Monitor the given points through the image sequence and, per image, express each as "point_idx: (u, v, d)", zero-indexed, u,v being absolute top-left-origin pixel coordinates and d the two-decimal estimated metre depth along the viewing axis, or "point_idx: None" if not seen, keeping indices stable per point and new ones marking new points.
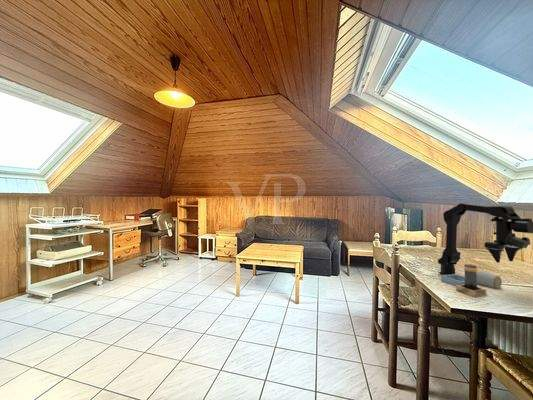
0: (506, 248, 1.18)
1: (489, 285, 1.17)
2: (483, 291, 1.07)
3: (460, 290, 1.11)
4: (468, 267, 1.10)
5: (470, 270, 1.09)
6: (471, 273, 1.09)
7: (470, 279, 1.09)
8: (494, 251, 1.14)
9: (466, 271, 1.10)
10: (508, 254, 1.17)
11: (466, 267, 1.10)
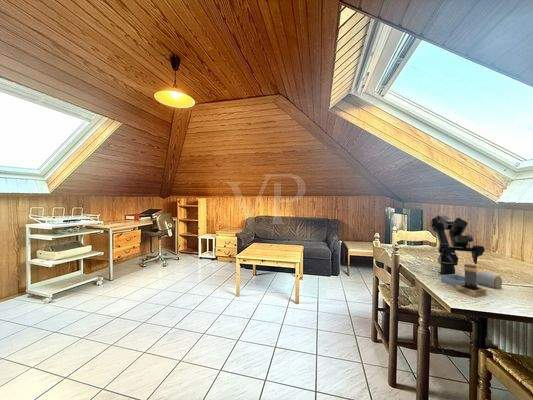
0: (472, 255, 1.21)
1: (489, 285, 1.17)
2: (483, 291, 1.07)
3: (460, 290, 1.11)
4: (468, 267, 1.10)
5: (470, 270, 1.09)
6: (471, 273, 1.09)
7: (470, 279, 1.09)
8: (447, 253, 1.24)
9: (466, 271, 1.10)
10: (473, 259, 1.18)
11: (466, 267, 1.10)
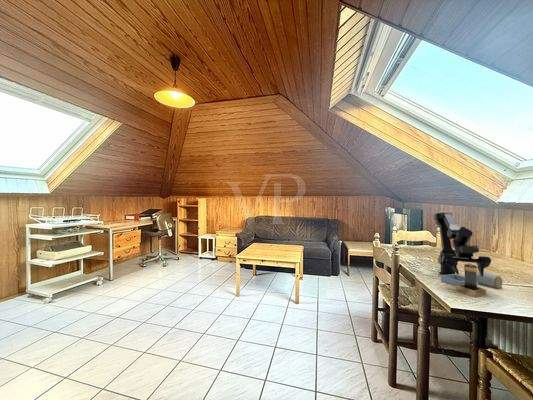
0: (478, 267, 1.14)
1: (490, 285, 1.18)
2: (483, 291, 1.07)
3: (460, 290, 1.11)
4: (468, 267, 1.10)
5: (470, 270, 1.09)
6: (471, 273, 1.09)
7: (470, 279, 1.09)
8: (452, 264, 1.18)
9: (466, 271, 1.10)
10: (479, 271, 1.12)
11: (466, 267, 1.10)
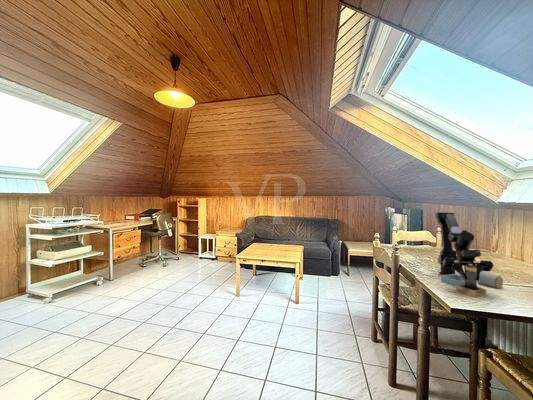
0: None
1: (490, 285, 1.18)
2: (483, 291, 1.07)
3: (460, 290, 1.11)
4: (468, 267, 1.10)
5: (470, 270, 1.09)
6: (471, 273, 1.09)
7: (470, 279, 1.09)
8: (459, 269, 1.15)
9: (466, 271, 1.10)
10: None
11: (466, 267, 1.10)
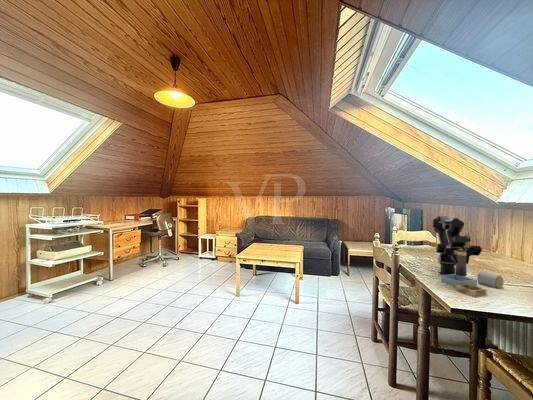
0: None
1: (491, 285, 1.18)
2: (483, 291, 1.07)
3: (460, 290, 1.11)
4: (459, 251, 1.19)
5: (460, 254, 1.18)
6: (461, 256, 1.18)
7: (460, 262, 1.19)
8: (450, 254, 1.24)
9: (457, 255, 1.20)
10: None
11: (457, 252, 1.20)
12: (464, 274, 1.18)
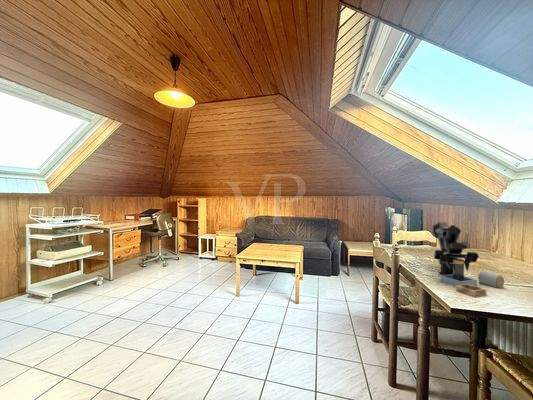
0: (464, 262, 1.25)
1: (491, 284, 1.18)
2: (483, 291, 1.07)
3: (460, 290, 1.11)
4: (456, 260, 1.22)
5: (458, 263, 1.22)
6: (459, 265, 1.21)
7: (457, 271, 1.22)
8: (445, 260, 1.28)
9: (454, 264, 1.23)
10: (465, 265, 1.23)
11: (454, 261, 1.23)
12: None
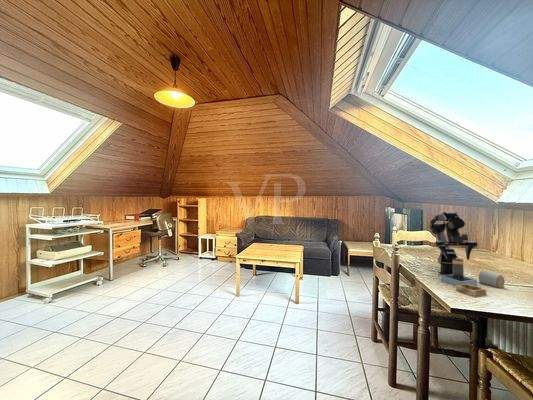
0: (465, 249, 1.30)
1: (492, 284, 1.18)
2: (483, 291, 1.07)
3: (460, 290, 1.11)
4: (456, 260, 1.22)
5: (457, 263, 1.22)
6: (458, 265, 1.21)
7: (457, 271, 1.22)
8: None
9: (454, 264, 1.23)
10: (466, 254, 1.29)
11: (454, 261, 1.23)
12: None
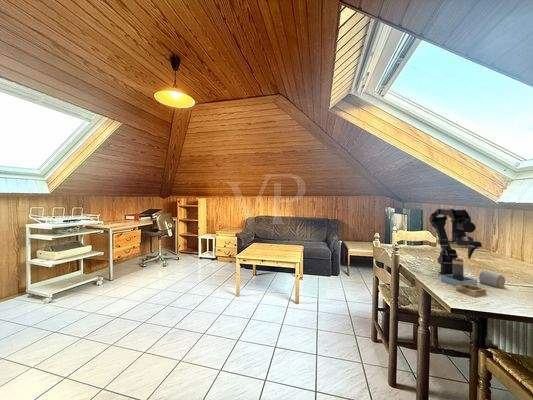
0: (468, 247, 1.30)
1: (492, 284, 1.19)
2: (483, 291, 1.07)
3: (460, 290, 1.11)
4: (456, 261, 1.22)
5: (457, 263, 1.21)
6: (458, 266, 1.21)
7: (457, 271, 1.22)
8: None
9: (454, 264, 1.23)
10: (468, 252, 1.29)
11: (454, 261, 1.23)
12: None
